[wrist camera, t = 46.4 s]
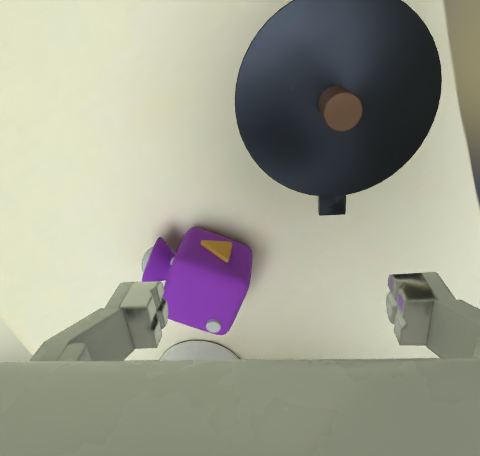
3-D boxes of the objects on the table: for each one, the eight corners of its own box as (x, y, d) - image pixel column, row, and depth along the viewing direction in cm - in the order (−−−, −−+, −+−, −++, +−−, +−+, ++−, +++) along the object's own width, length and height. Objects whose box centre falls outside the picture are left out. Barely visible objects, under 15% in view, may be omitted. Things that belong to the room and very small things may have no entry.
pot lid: (449, -27, 26) (487, -41, 22) (423, 186, 33) (447, 210, 29) (226, 0, 28) (216, -8, 23) (245, 196, 35) (240, 221, 30)
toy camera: (154, 213, 50) (128, 252, 41) (256, 231, 50) (252, 273, 41) (151, 280, 55) (127, 327, 46) (244, 296, 55) (238, 347, 46)
